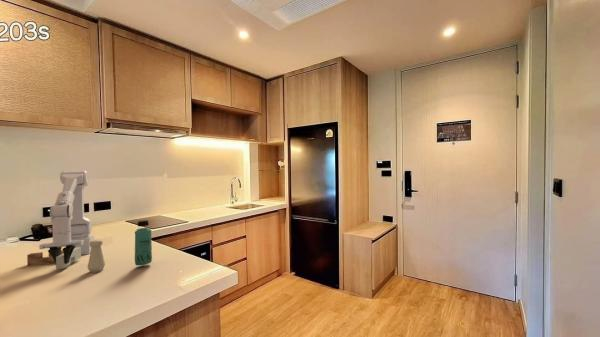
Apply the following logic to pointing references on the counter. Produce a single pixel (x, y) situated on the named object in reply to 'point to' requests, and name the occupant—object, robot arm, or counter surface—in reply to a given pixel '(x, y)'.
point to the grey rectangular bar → (74, 256)
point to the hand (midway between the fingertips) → (62, 263)
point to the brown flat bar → (39, 258)
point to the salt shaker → (96, 257)
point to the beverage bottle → (143, 244)
